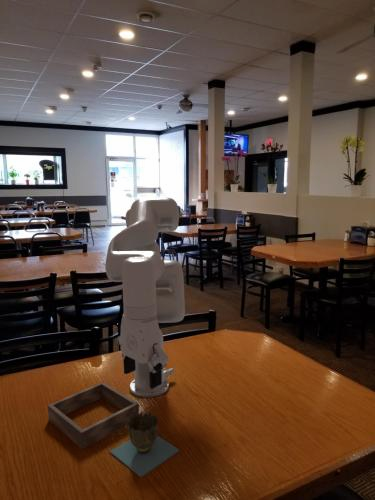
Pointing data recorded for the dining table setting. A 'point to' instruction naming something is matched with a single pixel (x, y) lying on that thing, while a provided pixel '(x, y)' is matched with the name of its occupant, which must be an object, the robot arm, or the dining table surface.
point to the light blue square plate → (144, 455)
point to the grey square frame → (99, 428)
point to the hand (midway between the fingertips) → (142, 378)
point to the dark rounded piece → (143, 431)
